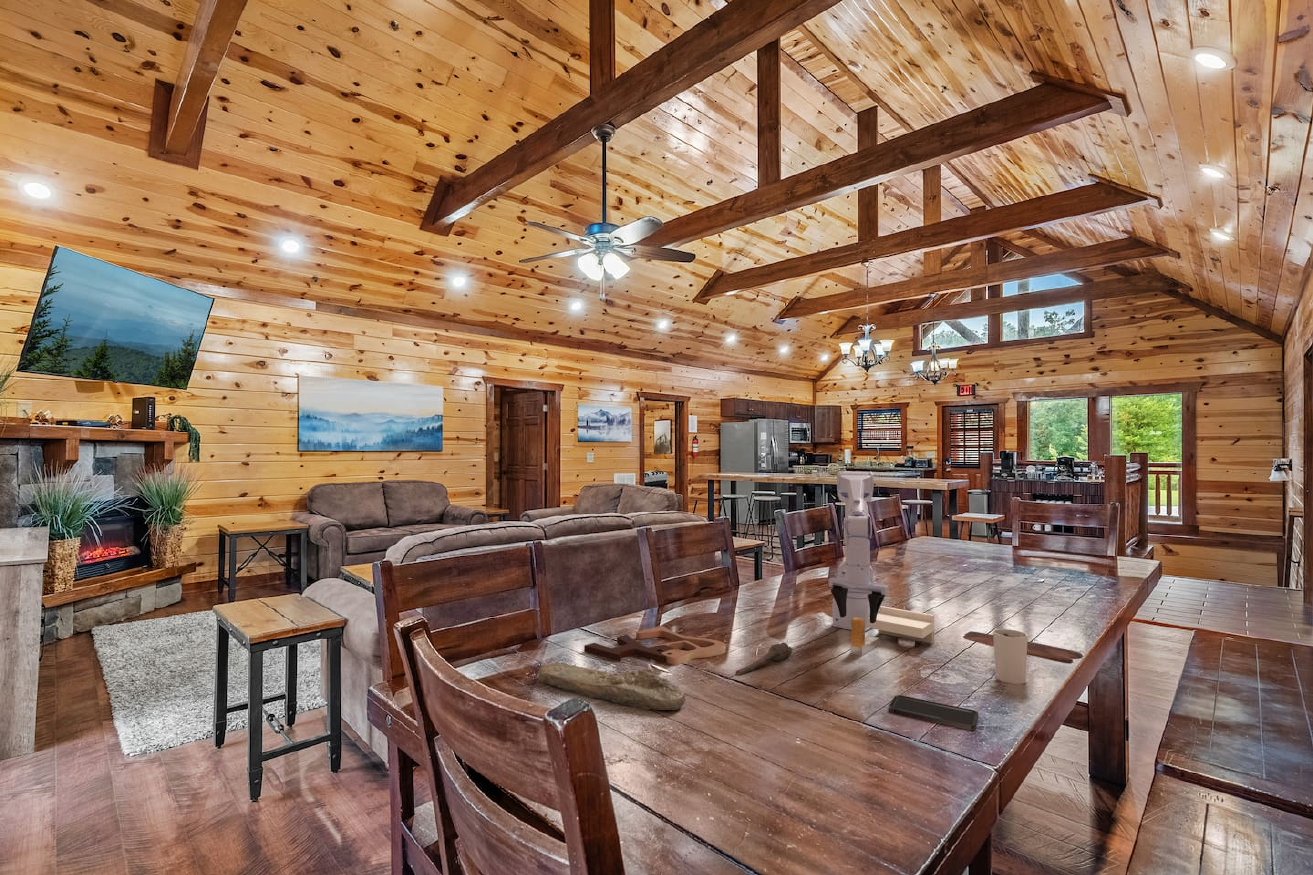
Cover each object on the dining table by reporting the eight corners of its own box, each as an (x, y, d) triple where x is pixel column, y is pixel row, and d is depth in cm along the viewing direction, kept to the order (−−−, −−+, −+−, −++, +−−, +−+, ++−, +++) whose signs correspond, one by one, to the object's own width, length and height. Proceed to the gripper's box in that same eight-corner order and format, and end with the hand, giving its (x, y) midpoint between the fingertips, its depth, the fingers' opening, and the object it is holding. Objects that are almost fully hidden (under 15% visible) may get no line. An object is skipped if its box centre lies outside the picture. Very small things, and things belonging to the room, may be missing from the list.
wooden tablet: (956, 634, 165) (972, 623, 172) (956, 642, 165) (973, 630, 172) (1070, 661, 145) (1084, 647, 151) (1071, 670, 145) (1084, 656, 151)
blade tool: (850, 653, 152) (850, 618, 153) (867, 643, 160) (867, 610, 161) (862, 656, 150) (862, 621, 151) (879, 645, 158) (879, 612, 159)
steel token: (895, 646, 158) (895, 640, 158) (901, 642, 161) (901, 636, 161) (911, 649, 156) (911, 643, 156) (917, 645, 159) (917, 639, 159)
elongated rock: (556, 676, 141) (527, 693, 132) (555, 653, 140) (525, 669, 132) (695, 698, 124) (672, 720, 115) (693, 672, 124) (670, 692, 115)
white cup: (989, 679, 135) (989, 633, 135) (998, 671, 140) (997, 626, 140) (1024, 687, 131) (1023, 639, 131) (1031, 678, 136) (1031, 632, 136)
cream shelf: (868, 638, 164) (868, 612, 164) (881, 631, 171) (881, 605, 171) (922, 650, 155) (922, 622, 155) (934, 641, 161) (934, 615, 161)
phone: (896, 694, 125) (979, 711, 117) (896, 699, 125) (979, 717, 117) (887, 707, 118) (974, 727, 110) (887, 713, 118) (974, 733, 110)
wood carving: (583, 653, 153) (645, 680, 135) (583, 645, 153) (645, 671, 135) (667, 631, 171) (731, 653, 154) (667, 623, 171) (731, 644, 154)
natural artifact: (796, 659, 152) (805, 647, 151) (737, 678, 137) (746, 665, 136) (786, 646, 155) (794, 635, 153) (727, 664, 140) (735, 652, 138)
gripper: (823, 562, 154) (823, 617, 154) (880, 570, 145) (880, 628, 145) (835, 559, 160) (835, 611, 159) (891, 566, 150) (891, 622, 150)
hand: (857, 619), depth 152 cm, fingers open, 7 cm apart
